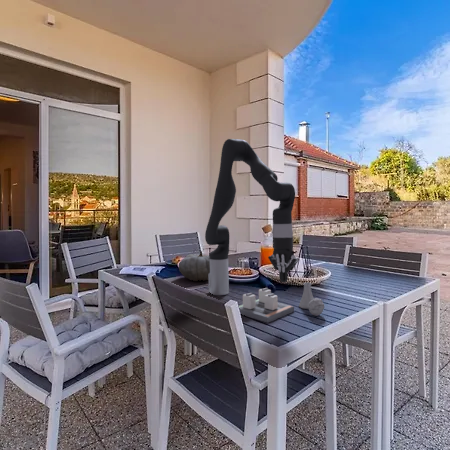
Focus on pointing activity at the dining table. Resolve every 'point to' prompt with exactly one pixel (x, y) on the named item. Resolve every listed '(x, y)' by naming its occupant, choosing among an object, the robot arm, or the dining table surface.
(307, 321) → the dining table surface
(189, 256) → the gourd
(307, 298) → the flask
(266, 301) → the tripped breaker
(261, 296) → the breaker
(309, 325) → the dining table surface
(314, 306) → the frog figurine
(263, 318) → the square grey tray
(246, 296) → the breaker
